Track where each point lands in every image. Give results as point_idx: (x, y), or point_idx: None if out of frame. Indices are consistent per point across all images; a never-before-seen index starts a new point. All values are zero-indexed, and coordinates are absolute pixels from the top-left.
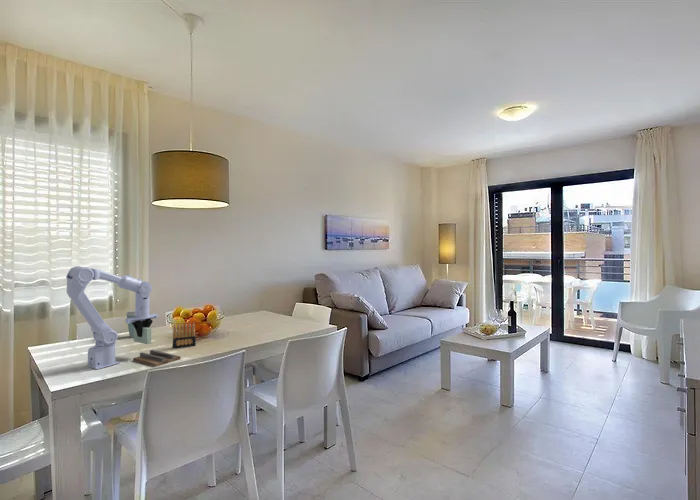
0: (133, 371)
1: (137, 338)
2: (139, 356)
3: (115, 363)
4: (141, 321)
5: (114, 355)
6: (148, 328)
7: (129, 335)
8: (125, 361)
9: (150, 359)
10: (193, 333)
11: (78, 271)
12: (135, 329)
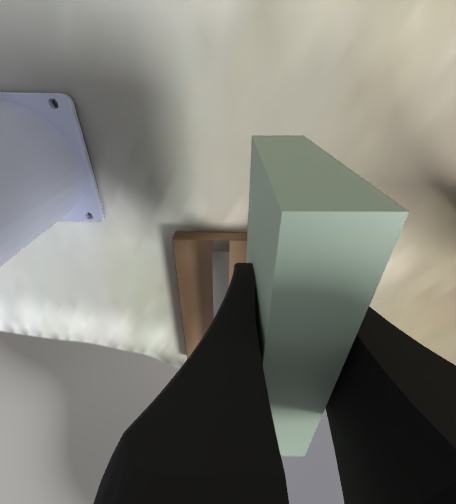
0: (114, 340)
1: (252, 220)
2: (210, 241)
3: (76, 220)
4: (445, 448)
5: (46, 229)
6: (280, 448)
7: None
8: (142, 206)
9: (210, 319)
10: None
11: None
12: (266, 242)
